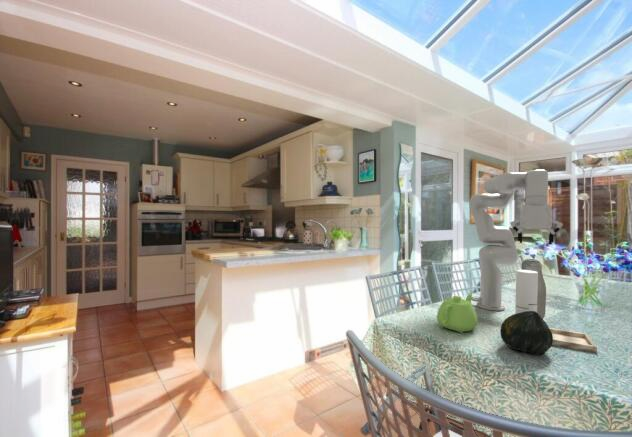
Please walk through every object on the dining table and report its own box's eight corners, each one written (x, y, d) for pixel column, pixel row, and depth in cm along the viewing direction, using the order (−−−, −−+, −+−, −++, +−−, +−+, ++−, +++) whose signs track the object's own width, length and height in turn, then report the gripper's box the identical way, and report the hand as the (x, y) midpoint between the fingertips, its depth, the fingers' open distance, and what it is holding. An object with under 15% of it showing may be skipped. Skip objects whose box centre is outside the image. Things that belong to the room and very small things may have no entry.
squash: (490, 323, 119) (505, 301, 109) (532, 326, 118) (551, 305, 108) (503, 360, 109) (520, 340, 99) (548, 364, 107) (571, 344, 97)
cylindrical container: (540, 337, 120) (541, 273, 119) (519, 336, 121) (521, 272, 121) (531, 330, 127) (532, 270, 126) (512, 329, 128) (513, 269, 128)
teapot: (455, 317, 143) (455, 289, 142) (489, 327, 130) (489, 296, 130) (427, 327, 130) (427, 296, 129) (461, 339, 117) (462, 304, 117)
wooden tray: (546, 343, 114) (546, 338, 114) (542, 331, 126) (542, 326, 126) (597, 352, 107) (597, 347, 107) (587, 339, 119) (587, 333, 119)
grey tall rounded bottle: (530, 317, 144) (531, 257, 143) (550, 325, 133) (552, 260, 133) (511, 318, 142) (513, 257, 141) (531, 326, 132) (532, 261, 131)
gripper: (510, 201, 126) (509, 243, 126) (564, 200, 116) (563, 245, 116) (510, 201, 132) (509, 241, 132) (562, 201, 122) (561, 244, 123)
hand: (535, 243), depth 124 cm, fingers open, 9 cm apart
